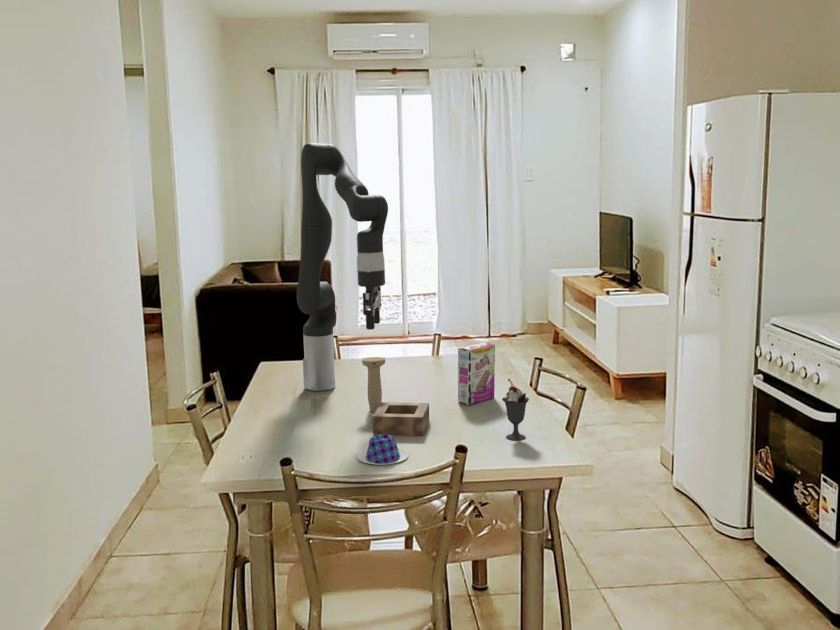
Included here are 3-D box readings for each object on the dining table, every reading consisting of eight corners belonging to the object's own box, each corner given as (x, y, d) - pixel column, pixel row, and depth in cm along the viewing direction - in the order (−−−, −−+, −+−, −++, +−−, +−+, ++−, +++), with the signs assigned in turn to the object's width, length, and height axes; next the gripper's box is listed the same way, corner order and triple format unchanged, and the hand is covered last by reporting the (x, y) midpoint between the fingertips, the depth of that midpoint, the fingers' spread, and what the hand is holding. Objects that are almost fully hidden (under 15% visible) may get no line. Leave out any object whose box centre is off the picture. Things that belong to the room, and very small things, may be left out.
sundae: (501, 433, 216) (501, 376, 214) (527, 433, 216) (527, 376, 213) (503, 441, 210) (502, 383, 207) (530, 441, 210) (530, 383, 207)
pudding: (385, 446, 209) (385, 426, 208) (418, 458, 200) (418, 437, 199) (347, 458, 201) (346, 437, 200) (379, 471, 192) (379, 449, 191)
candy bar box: (470, 406, 241) (469, 350, 238) (457, 403, 245) (456, 347, 242) (495, 398, 249) (495, 343, 246) (483, 395, 252) (482, 341, 250)
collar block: (373, 434, 217) (372, 416, 217) (382, 419, 230) (381, 402, 229) (423, 436, 216) (422, 417, 215) (429, 420, 228) (429, 403, 227)
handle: (387, 412, 237) (385, 360, 234) (364, 413, 236) (362, 361, 233) (385, 407, 242) (384, 356, 239) (363, 409, 241) (361, 357, 238)
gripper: (362, 265, 239) (364, 321, 242) (352, 271, 225) (354, 331, 228) (388, 265, 238) (390, 321, 241) (379, 271, 225) (382, 331, 227)
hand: (373, 326), depth 235 cm, fingers open, 8 cm apart
